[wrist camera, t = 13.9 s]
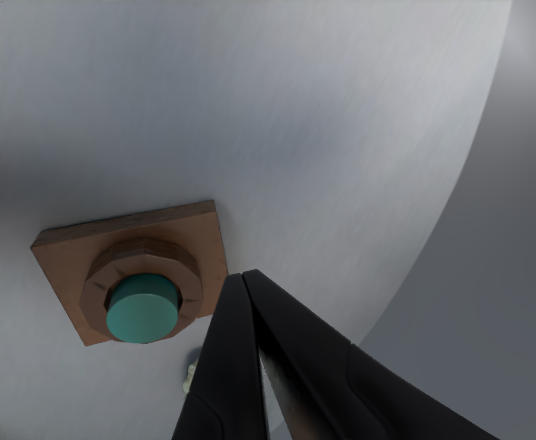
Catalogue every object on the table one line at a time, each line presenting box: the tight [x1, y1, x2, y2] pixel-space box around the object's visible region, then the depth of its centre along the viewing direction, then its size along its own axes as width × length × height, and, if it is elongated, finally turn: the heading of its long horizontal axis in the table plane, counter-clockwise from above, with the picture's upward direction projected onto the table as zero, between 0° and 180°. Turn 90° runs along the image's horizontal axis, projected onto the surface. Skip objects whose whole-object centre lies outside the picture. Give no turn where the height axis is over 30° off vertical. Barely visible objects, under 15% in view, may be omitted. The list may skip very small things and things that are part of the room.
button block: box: [30, 200, 228, 346], centre depth 19 cm, size 10×8×4 cm
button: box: [106, 273, 178, 343], centre depth 18 cm, size 4×4×2 cm
